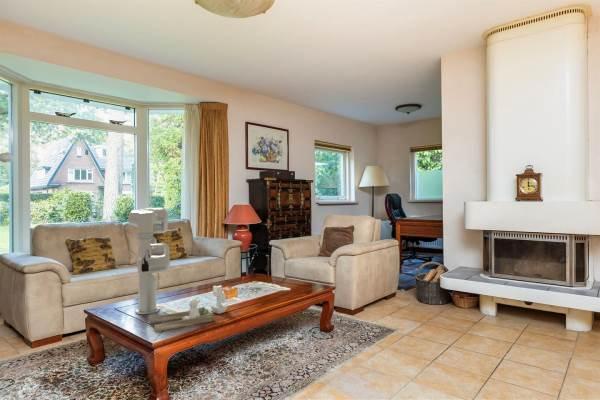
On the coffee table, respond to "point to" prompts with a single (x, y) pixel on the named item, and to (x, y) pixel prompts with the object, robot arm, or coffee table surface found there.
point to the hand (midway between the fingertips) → (145, 271)
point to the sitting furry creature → (193, 309)
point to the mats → (156, 324)
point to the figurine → (219, 300)
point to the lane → (199, 319)
